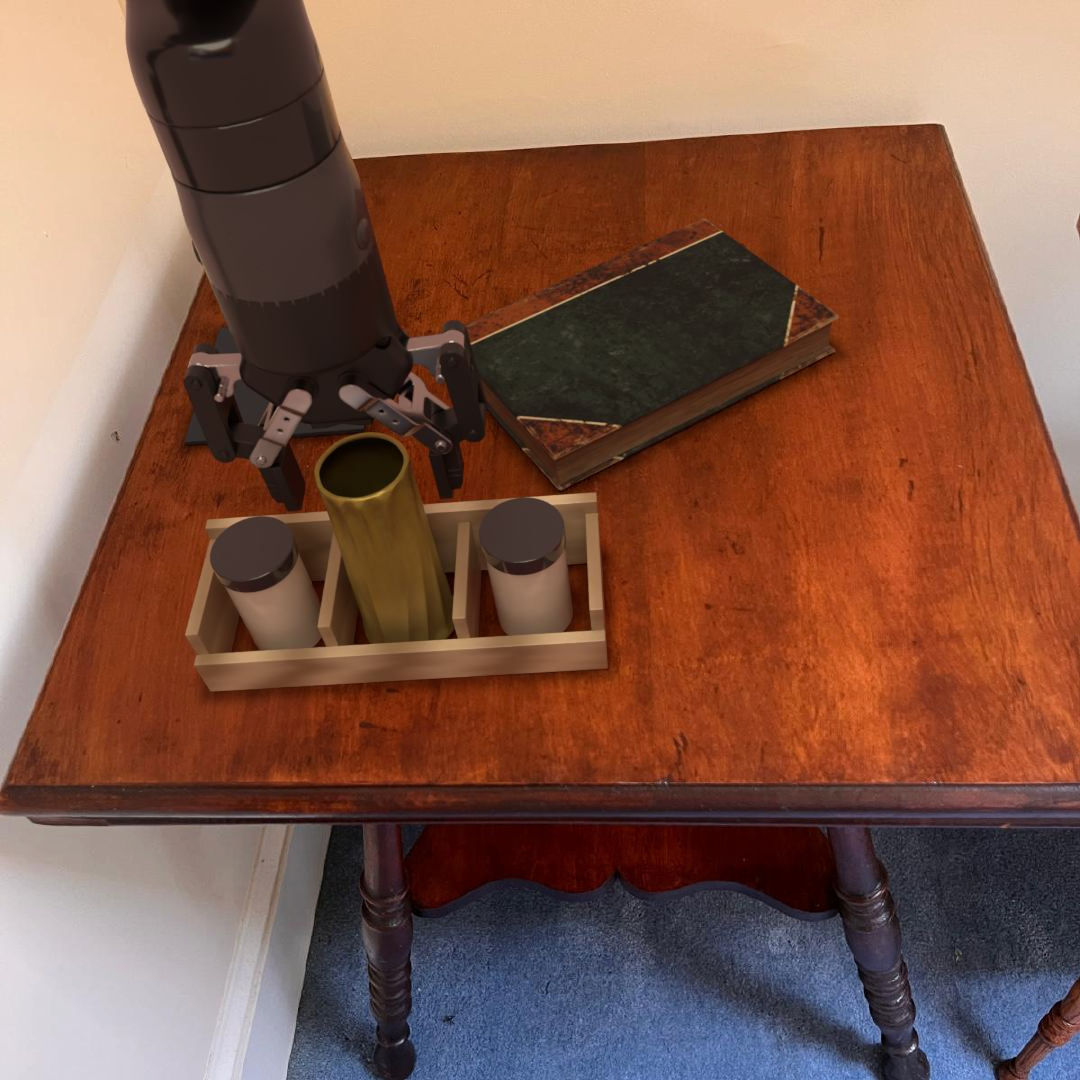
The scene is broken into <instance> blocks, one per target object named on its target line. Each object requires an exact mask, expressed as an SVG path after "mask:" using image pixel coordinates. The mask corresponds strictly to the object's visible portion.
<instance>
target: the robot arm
mask: <svg viewBox="0 0 1080 1080" xmlns="http://www.w3.org/2000/svg"><path fill="white" fill-rule="evenodd" d="M124 40H125V41H124V42H125V48H126V49H125V51H126V55H127V60H128V63H129V68H130V69H129V70H130V72H131V75H132V79H133V82H134V84H135V87H136V90H137V93H138V95H139V98H140V101H141V103H142V106H143V108H144V110H145V112H146V115H147V117H148V120H149V122H150V125H151V127H152V131H153V132H154V135H155V137H156V140H157V142H158V144H159V147H160V149H161V153H162V154H163V156H164V160H165V162H166V164H167V166H168V168H169V171H170V174H171V177H172V180H173V183H174V186H175V189H176V193H177V197H178V201H179V205H180V209H181V214H182V216H183V220H184V224H185V226H186V229H187V232H188V234H189V237H190V239H191V245H192V249H193V252H194V254H195V258H196V260H197V261H198V263H199V264H200V265H201V266H202V268H203V270H204V272H205V275H206V278H207V280H208V283H209V285H210V286H211V289H212V292H213V294H214V297H215V299H216V301H217V304H218V305H219V308H220V311H221V313H222V316H223V319H224V320H225V323H226V325H227V327H228V328H229V330H230V333H231V335H232V337H233V340H234V342H235V345H236V347H237V349H238V351H239V353H230V354H219V352H218V350H217V349H216V348H215V347H214V346H215V345H213V344H210V343H207V342H200V343H198V344H196V345H195V346H194V347H193V351H192V354H191V356H190V359H189V362H188V365H187V368H186V372H185V375H184V378H183V386H184V388H185V391H186V394H187V396H188V399H189V400H190V404H191V407H192V409H193V412H194V411H195V413H196V416H197V418H198V421H199V423H200V426H201V428H202V431H203V433H204V436H205V438H206V441H207V443H208V444H207V446H208V448H209V451H210V453H211V456H212V457H213V458H214V459H215V460H216V461H217V462H219V463H224V464H229V463H232V462H234V461H235V460H236V458H238V459H244V460H248V461H249V462H250V464H251V465H253V466H254V467H256V468H258V470H259V472H260V474H261V476H262V477H261V478H262V479H263V481H264V483H265V485H266V488H267V490H268V492H269V495H270V497H271V498H272V499H273V500H274V501H275V502H276V503H277V504H283V505H284V507H285V509H286V511H287V512H297V511H300V512H301V511H302V510H303V505H304V501H305V495H306V481H305V478H304V476H303V473H302V470H301V467H300V466H299V463H298V460H297V458H296V455H295V452H294V450H293V448H292V446H291V443H290V439H291V436H292V434H293V432H294V431H295V429H296V427H297V426H298V424H299V422H302V423H305V424H310V425H311V426H312V429H321V428H329V427H332V426H336V425H339V424H349V425H366V426H369V425H373V424H374V420H375V421H377V422H379V423H380V424H381V425H383V426H384V427H386V428H387V429H389V430H390V431H391V432H393V433H395V434H396V435H397V436H399V437H401V438H407V437H408V436H409V437H411V438H412V439H414V440H415V441H417V442H418V443H420V444H421V445H423V446H424V447H425V448H427V449H428V458H429V459H428V460H429V462H430V466H431V470H432V474H433V478H434V481H435V484H436V485H435V486H436V489H437V493H438V497H439V500H450V499H454V498H455V490H461V489H462V487H463V484H464V476H465V474H464V473H465V461H464V457H463V452H462V448H461V444H460V443H461V442H463V441H466V442H469V443H480V442H481V441H483V440H484V439H485V437H486V428H487V427H486V426H487V425H486V424H487V409H486V404H487V402H486V397H485V394H484V390H483V387H482V383H481V379H480V376H479V372H478V368H477V365H476V361H475V358H474V354H473V350H472V347H471V343H470V339H469V336H468V332H467V328H466V326H465V325H464V324H465V323H464V322H462V321H460V320H458V319H451V320H450V319H449V320H447V321H446V322H444V323H443V324H442V327H441V333H437V334H429V335H423V336H417V337H416V336H415V337H411V336H410V335H409V334H408V333H407V332H406V330H404V329H403V328H402V326H401V325H400V323H399V321H398V320H397V316H396V311H395V307H394V304H393V299H392V296H391V292H390V289H389V285H388V281H387V277H386V273H385V270H384V265H383V262H382V257H381V254H380V249H379V246H378V243H377V239H376V235H375V231H374V228H373V224H372V219H371V215H370V212H369V208H368V203H367V200H366V196H365V192H364V188H363V185H362V182H361V179H360V175H359V173H358V170H357V168H356V164H355V162H354V160H353V157H352V155H351V153H350V151H349V149H348V145H347V143H346V141H345V138H344V135H343V131H342V128H341V126H340V121H339V118H338V115H337V114H338V113H337V110H336V107H335V103H334V99H333V96H332V92H331V89H330V84H329V80H328V76H327V73H326V69H325V66H324V61H323V58H322V54H321V51H320V48H319V45H318V41H317V38H316V36H315V33H314V30H313V28H312V24H311V22H310V18H309V16H308V12H307V9H306V5H305V2H304V0H125V27H124ZM414 365H415V366H416V365H417V366H422V367H424V368H425V369H427V371H428V372H429V374H430V375H431V376H432V377H433V378H434V380H435V382H436V383H438V384H444V383H445V385H446V389H447V393H448V396H449V399H450V401H451V405H452V407H450V406H449V405H448V404H446V403H445V402H444V401H442V400H441V399H440V398H438V397H437V396H435V395H434V394H433V393H432V392H430V391H429V390H428V388H427V385H426V383H425V382H424V381H423V379H422V378H421V377H419V376H417V375H416V373H414V372H413V371H412V370H413V367H414ZM238 380H242V381H243V382H244V383H245V385H246V386H247V387H249V388H250V389H251V390H253V391H254V392H256V393H257V394H259V395H260V396H262V397H263V398H265V399H266V400H268V401H269V405H268V407H267V408H266V410H265V412H264V414H263V416H262V418H261V419H260V421H259V423H258V425H252V424H247V423H244V422H243V419H242V416H241V414H240V411H239V408H238V405H237V402H236V400H235V397H234V394H233V393H234V390H235V386H236V382H237V381H238ZM396 397H398V403H397V402H396V401H395V398H396Z"/></svg>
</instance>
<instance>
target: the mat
mask: <svg viewBox="0 0 1080 1080" xmlns="http://www.w3.org/2000/svg"><path fill="white" fill-rule="evenodd" d="M213 346H214V347H215V348H216V349H217V350H218V352H219V354H230V353H239V351H238V349H237V347H236V345H235V342H234V340H233V337H232V335H231V333H230V330H229V328H228V326H223V327H219V330H218V333H217V336H216V339H215V343H214V345H213ZM233 394H234V397H235V400H236V402H237V405H238V408H239V411H240V414H241V416H242V419H243V422H244V423H247V424H252V425H258V423H259V421H260V419H261V418H262V416H263V414H264V412H265V410H266V408H267V407H268V405H269V401H268V400H266V399H265V398H263V397H262V396H260V395H259V394H257V393H256V392H254V391H253V390H251V389H250V388H249V387H247V386H246V385H245V383H244V382H243V381H242V380H238V381H237V382H236V386H235V390H234V393H233ZM366 426H367V425H349V424H339V425H336V426H332V427H329V428H321V429H312V426H311V425H310V424H305V423H302V422H299V424H298V426H297V427H296V429H295V431H294V432H293V434H292V436H291V438H304V437H305V438H307V437H318V436H331V435H345V434H360V433H366ZM291 438H290V439H291ZM184 444H185V446H199V445H200V446H201V445H208V443H207V441H206V438H205V436H204V433H203V431H202V428H201V426H200V423H199V421H198V418H197V416H196V413H195V411H194V410H193V413H192V416H191V419H190V423H189V426H188V429H187V433H186V436H185V439H184Z"/></svg>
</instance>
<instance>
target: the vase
mask: <svg viewBox="0 0 1080 1080" xmlns="http://www.w3.org/2000/svg"><path fill="white" fill-rule="evenodd" d="M415 475H416V474H415V472H414V468H413V464H412V460H411V458H410V455H409V452H408V450H407V448H406V447H405V445H404V444H403V443H401V441H399V440H398V439H397V438H394V437H393V436H390V435H389V434H385V433H382V432H370V431H367V432H366V431H365V432H359V433H355V434H352V435H349V436H345V437H343V438H341V439H339V440H337V441H336V442H334V443H333V444H332V445H330V446H329V447H328V448H327V449H326V450H325V451H324V452H323V453H322V454H321V455H320V457H318V460H317V462H316V464H315V466H314V470H313V479H314V481H315V485H316V487H317V489H318V491H319V494H320V497H321V499H322V502H323V504H324V506H325V509H326V510H325V511H327V513H328V516H329V518H330V521H331V524H332V527H333V530H334V533H335V536H336V539H337V542H338V545H339V549H340V552H341V555H342V557H343V560H344V564H345V567H346V571H347V574H348V578H349V580H350V583H351V586H352V589H353V592H354V595H355V599H356V601H357V604H358V607H359V609H358V610H359V612H360V615H361V619H362V622H363V623H362V625H363V630H364V633H365V636H366V639H367V640H368V643H369V644H380V643H396V642H413V641H429V640H446V639H450V637H451V635H453V633H454V631H455V627H454V623H453V620H452V612H453V596H454V594H452V591H451V587H450V584H449V582H448V578H447V575H446V574H445V573H444V571H443V568H442V565H441V562H440V558H439V555H438V552H437V549H436V545H435V542H434V539H433V536H432V533H431V530H430V527H429V523H428V520H427V516H426V513H425V510H424V506H423V504H424V503H423V500H422V497H421V492H420V490H419V486H418V482H417V479H416V476H415Z"/></svg>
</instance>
